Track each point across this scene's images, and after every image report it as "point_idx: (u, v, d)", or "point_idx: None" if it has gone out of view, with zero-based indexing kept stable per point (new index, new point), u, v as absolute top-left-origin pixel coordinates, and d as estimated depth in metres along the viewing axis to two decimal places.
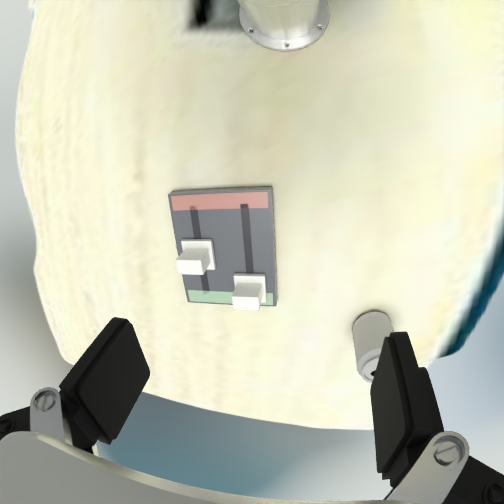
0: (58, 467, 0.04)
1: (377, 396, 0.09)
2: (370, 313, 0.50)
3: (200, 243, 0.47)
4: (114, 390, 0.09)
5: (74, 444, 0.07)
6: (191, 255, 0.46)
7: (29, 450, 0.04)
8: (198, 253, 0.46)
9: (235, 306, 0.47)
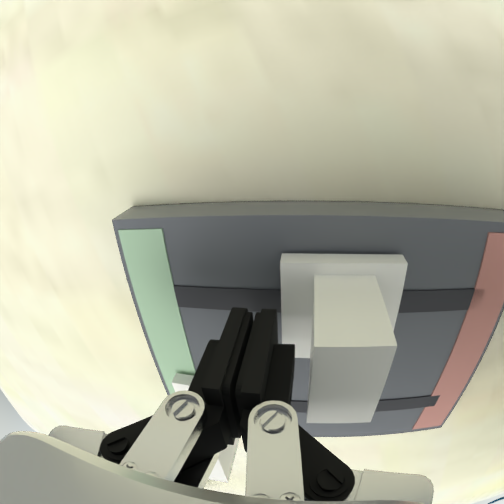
0: (58, 467, 0.04)
1: None
2: None
3: None
4: None
5: None
6: None
7: (30, 450, 0.04)
8: None
9: None
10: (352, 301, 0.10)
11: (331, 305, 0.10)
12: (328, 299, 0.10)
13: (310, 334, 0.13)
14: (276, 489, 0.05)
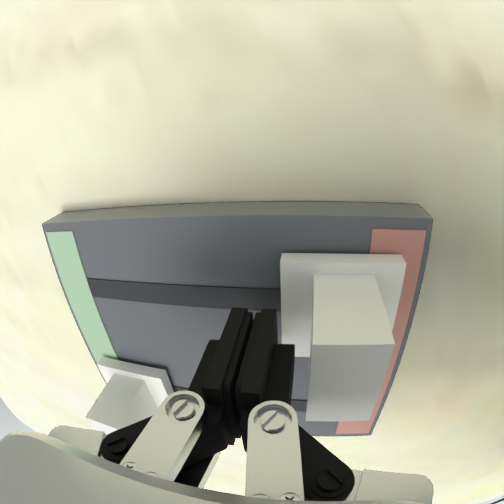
0: (58, 467, 0.04)
1: None
2: None
3: None
4: None
5: None
6: None
7: (29, 450, 0.04)
8: None
9: (94, 423, 0.14)
10: (351, 300, 0.10)
11: (330, 304, 0.10)
12: (327, 298, 0.10)
13: (310, 333, 0.13)
14: (276, 488, 0.05)
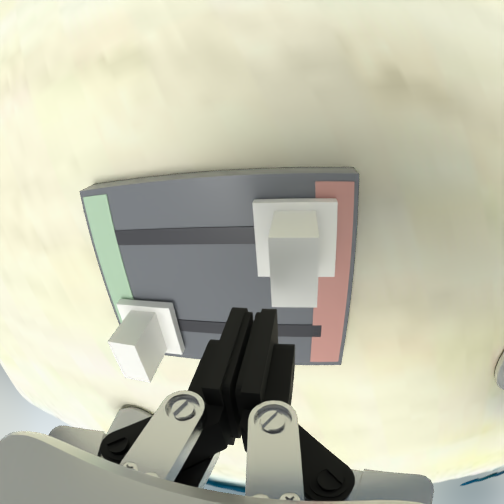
0: (58, 467, 0.04)
1: None
2: None
3: (328, 251, 0.19)
4: None
5: None
6: None
7: (29, 450, 0.04)
8: None
9: (115, 346, 0.20)
10: (296, 221, 0.16)
11: (282, 222, 0.16)
12: (281, 220, 0.16)
13: None
14: (276, 488, 0.05)
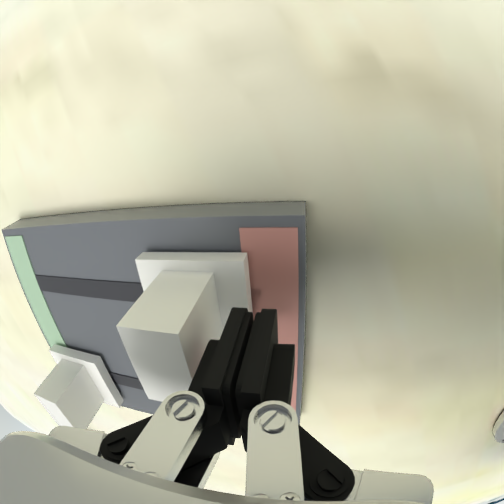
0: (58, 467, 0.04)
1: None
2: None
3: None
4: None
5: None
6: (203, 346, 0.11)
7: (29, 450, 0.04)
8: None
9: (41, 399, 0.15)
10: (172, 293, 0.11)
11: (153, 296, 0.11)
12: (155, 291, 0.11)
13: None
14: (276, 489, 0.05)
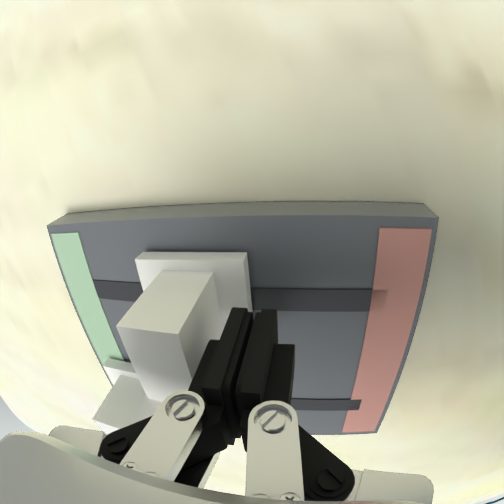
0: (58, 467, 0.04)
1: None
2: None
3: None
4: None
5: None
6: (203, 346, 0.11)
7: (29, 450, 0.04)
8: None
9: (102, 425, 0.14)
10: (172, 293, 0.11)
11: (153, 296, 0.11)
12: (155, 290, 0.11)
13: None
14: (276, 488, 0.05)
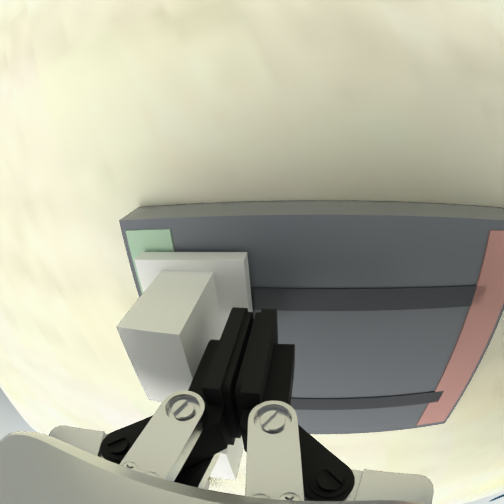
0: (58, 467, 0.04)
1: None
2: None
3: None
4: None
5: None
6: (204, 347, 0.11)
7: (30, 450, 0.04)
8: None
9: None
10: (172, 293, 0.11)
11: (153, 296, 0.11)
12: (155, 291, 0.11)
13: None
14: (276, 488, 0.05)
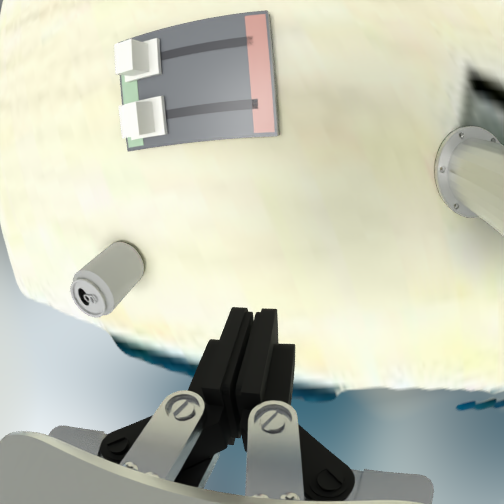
0: (58, 467, 0.04)
1: None
2: (140, 259, 0.45)
3: (154, 61, 0.30)
4: None
5: None
6: (138, 55, 0.28)
7: (29, 450, 0.04)
8: (142, 62, 0.29)
9: (122, 108, 0.30)
10: None
11: None
12: None
13: None
14: (276, 488, 0.05)
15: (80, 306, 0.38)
